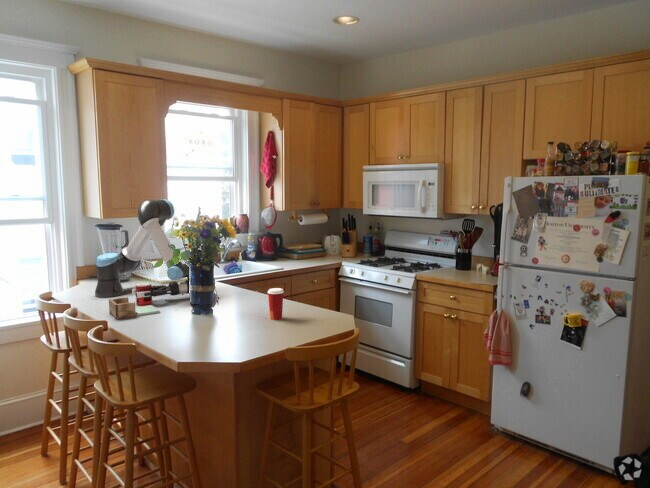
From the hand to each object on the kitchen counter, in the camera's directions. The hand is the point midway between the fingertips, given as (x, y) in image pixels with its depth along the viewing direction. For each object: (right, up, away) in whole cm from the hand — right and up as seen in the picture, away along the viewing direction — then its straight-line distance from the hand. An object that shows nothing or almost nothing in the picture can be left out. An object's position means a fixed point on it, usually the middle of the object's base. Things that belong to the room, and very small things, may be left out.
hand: (134, 293), depth 260 cm
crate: (+5, -8, -14) cm, 17 cm away
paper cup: (+76, -10, -24) cm, 81 cm away
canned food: (+4, -6, +3) cm, 8 cm away
